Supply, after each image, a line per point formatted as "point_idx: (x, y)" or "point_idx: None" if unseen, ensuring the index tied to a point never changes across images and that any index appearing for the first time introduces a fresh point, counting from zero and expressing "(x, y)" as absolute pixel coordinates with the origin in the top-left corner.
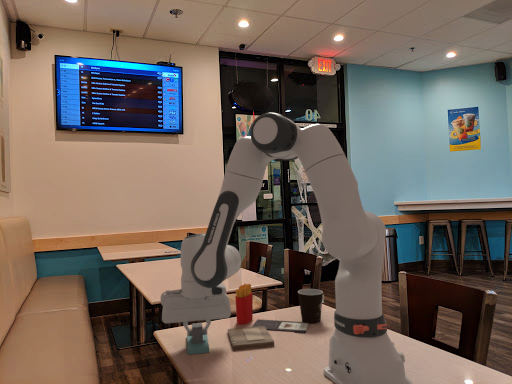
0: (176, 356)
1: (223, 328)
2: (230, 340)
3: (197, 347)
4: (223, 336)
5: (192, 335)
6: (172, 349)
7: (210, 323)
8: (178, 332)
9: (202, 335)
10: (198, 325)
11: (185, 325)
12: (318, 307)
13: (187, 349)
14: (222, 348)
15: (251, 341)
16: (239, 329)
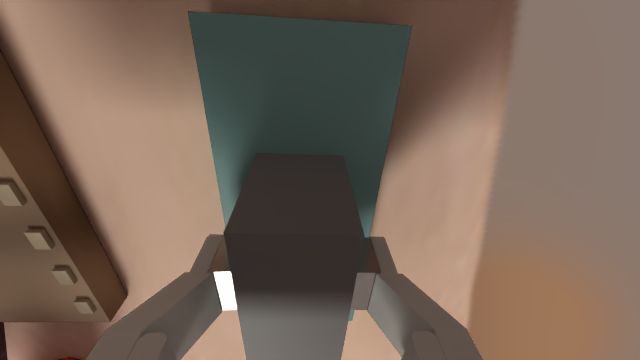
0: (482, 37)
1: None
2: (60, 193)
3: (309, 64)
4: (147, 273)
5: (353, 194)
6: (464, 175)
7: (114, 327)
8: (378, 343)
9: (247, 188)
10: (280, 330)
11: (440, 327)
12: None
13: (407, 42)
14: (106, 92)
15: None
16: (22, 305)
